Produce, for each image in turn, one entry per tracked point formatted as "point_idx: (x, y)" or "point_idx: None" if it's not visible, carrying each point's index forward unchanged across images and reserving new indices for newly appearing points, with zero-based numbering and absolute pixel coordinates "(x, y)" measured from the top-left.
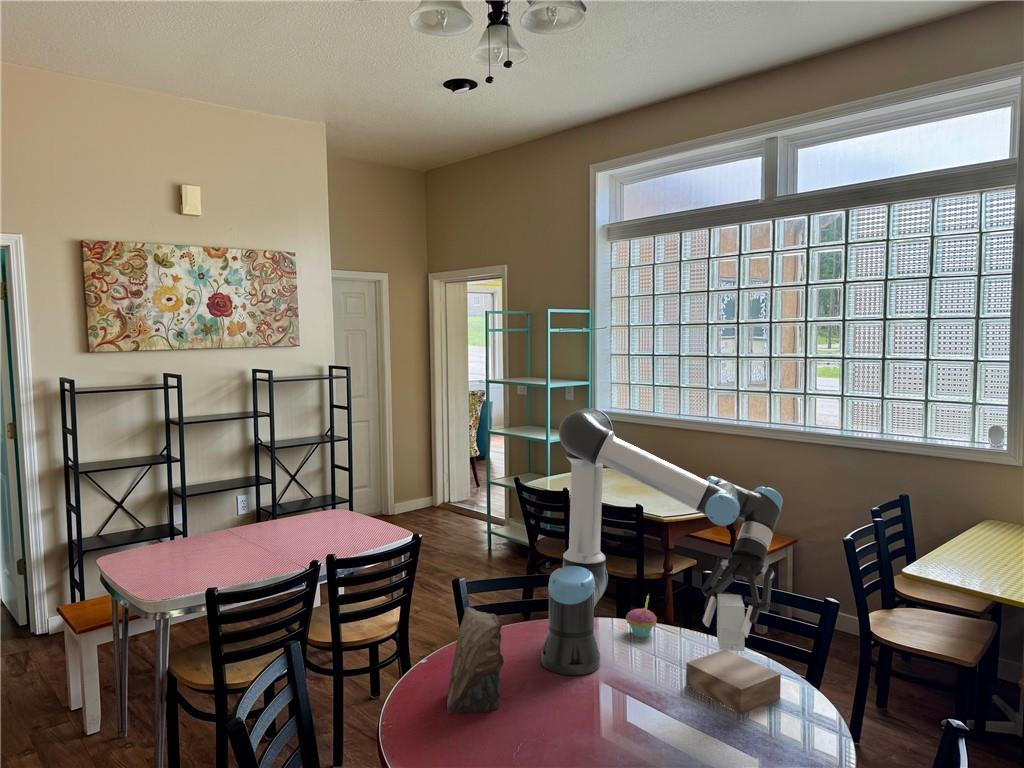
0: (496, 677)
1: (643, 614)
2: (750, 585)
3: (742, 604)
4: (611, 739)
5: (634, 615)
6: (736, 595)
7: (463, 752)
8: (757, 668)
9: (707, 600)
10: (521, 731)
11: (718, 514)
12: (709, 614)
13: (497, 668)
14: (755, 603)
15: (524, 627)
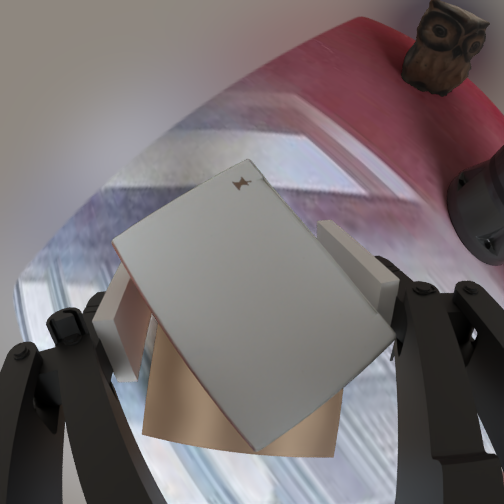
0: (413, 46)
1: None
2: (125, 468)
3: (135, 263)
4: (280, 95)
5: None
6: (274, 413)
7: (344, 31)
8: (200, 422)
9: (399, 277)
10: (352, 63)
11: None
12: (333, 253)
13: (417, 39)
14: (59, 314)
15: None
